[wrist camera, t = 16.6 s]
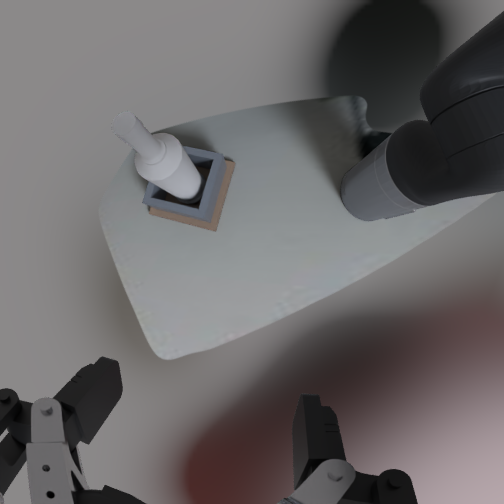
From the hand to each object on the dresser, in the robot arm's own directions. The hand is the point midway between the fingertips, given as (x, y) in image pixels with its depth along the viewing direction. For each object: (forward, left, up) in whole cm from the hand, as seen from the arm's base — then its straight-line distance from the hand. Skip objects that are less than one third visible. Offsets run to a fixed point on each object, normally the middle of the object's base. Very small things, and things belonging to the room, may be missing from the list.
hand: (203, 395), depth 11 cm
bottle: (+11, -13, -32) cm, 37 cm away
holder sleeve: (+11, -13, -33) cm, 37 cm away
